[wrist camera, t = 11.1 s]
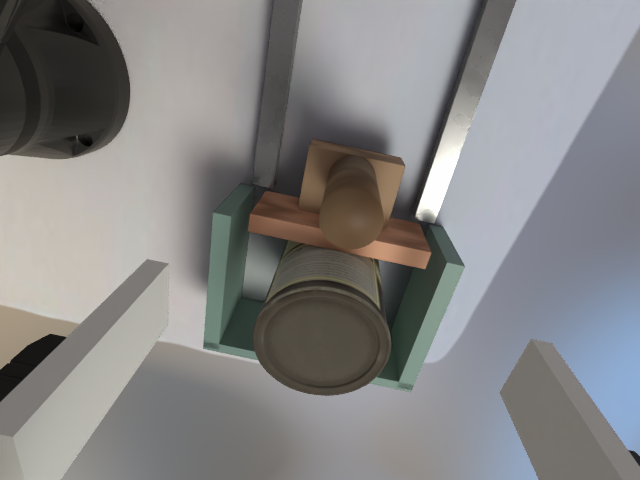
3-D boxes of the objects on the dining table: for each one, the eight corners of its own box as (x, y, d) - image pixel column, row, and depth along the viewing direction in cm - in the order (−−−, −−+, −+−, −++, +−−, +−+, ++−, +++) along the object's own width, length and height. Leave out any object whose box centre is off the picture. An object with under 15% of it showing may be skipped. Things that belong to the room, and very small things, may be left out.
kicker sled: (263, 206, 36) (225, 267, 25) (274, 130, 33) (235, 163, 22) (414, 238, 36) (440, 313, 25) (439, 166, 33) (481, 216, 22)
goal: (228, 301, 44) (203, 348, 36) (240, 183, 37) (213, 212, 30) (401, 338, 44) (410, 392, 37) (443, 227, 37) (465, 266, 30)
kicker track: (255, 179, 37) (251, 184, 35) (292, -122, 27) (289, -132, 25) (431, 217, 37) (434, 223, 36) (533, -68, 27) (543, -75, 26)
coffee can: (395, 272, 40) (415, 369, 27) (315, 309, 43) (300, 412, 30) (348, 194, 37) (346, 263, 24) (265, 240, 40) (223, 323, 27)
